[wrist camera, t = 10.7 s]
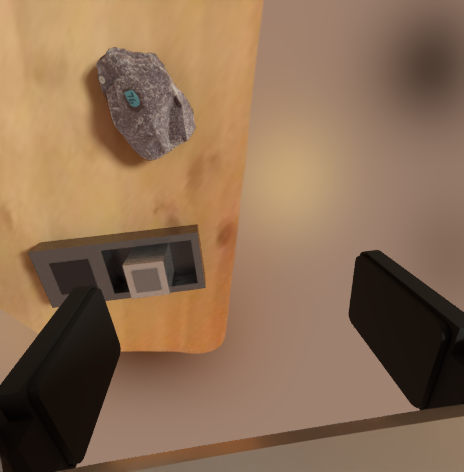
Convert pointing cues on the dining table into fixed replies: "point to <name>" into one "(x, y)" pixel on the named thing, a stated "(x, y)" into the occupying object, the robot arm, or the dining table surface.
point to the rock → (144, 102)
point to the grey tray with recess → (114, 262)
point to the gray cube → (149, 270)
